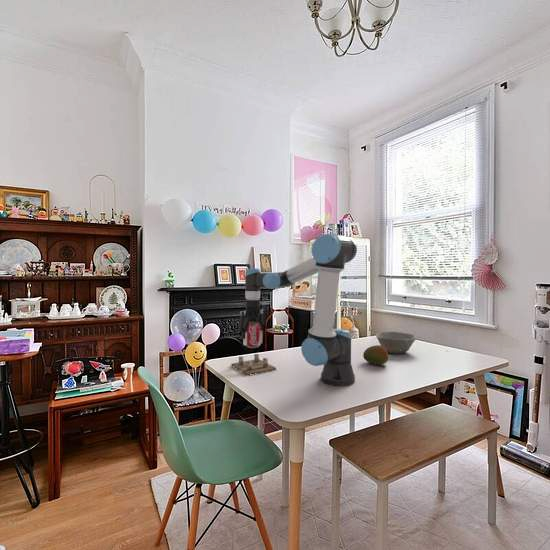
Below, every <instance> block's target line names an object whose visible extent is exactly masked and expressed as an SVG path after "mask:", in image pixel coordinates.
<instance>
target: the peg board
mask: <svg viewBox="0 0 550 550" xmlns="http://www.w3.org/2000/svg"><path fill="white" fill-rule="evenodd" d="M253 358H254V359H251V360H250V359H249V360H244V356H238V362H234V363H231V364H230V365H232V366H234V367H235V368H237V369H238V370H240V371H242V372H243V373H245V374H246V375H245V374H244V375H245V376H247V375H249V376H251V375H250V374H254V375H256V374H255V373H259V374H262V373H261V372H264V373H267V372H266V371H269V372H273V371H272V370H274V371H277V367H275V366H274V365H271V364H269V359H268V358H267V357H263V358H262V360H261V359H260V354H259V353H254V357H253ZM232 366H231V367H232ZM234 367H233V368H234ZM235 368H234V369H235ZM237 369H236V370H237ZM238 370H237V371H238ZM240 371H239V372H240ZM242 372H241V373H242ZM243 373H242V374H243Z"/></svg>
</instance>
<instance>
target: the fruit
mask: <svg viewBox="0 0 550 550" xmlns="http://www.w3.org/2000/svg"><path fill="white" fill-rule="evenodd" d="M362 357H363V359H364V361H366V362H367V363H370V364H372V365H377V366H378V365H379V366H381V365H384V364H386V363H387V362H388V359H389V352H387V350H386V348H385V347H383V346H381V345H380V344H378V345H371V346H370V347H369V346H368V347H367V348H366V349H365V350H364V352H363V355H362Z"/></svg>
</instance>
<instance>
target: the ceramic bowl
mask: <svg viewBox="0 0 550 550" xmlns="http://www.w3.org/2000/svg"><path fill="white" fill-rule="evenodd" d="M375 337H376V339H377V341H378V343H379V345H380V346H383V347H385V348H386V350H387V353H388V354H395V355H396V354H405V353H407V352H408V351H409V350H410V349H411V347H412V345H413V344H414V342H415V341H416V340H417V336H416V335H414V334H411V333H406V332H399V331H382V332H381V331H380V332H378V333H375Z"/></svg>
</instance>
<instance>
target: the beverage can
mask: <svg viewBox="0 0 550 550" xmlns="http://www.w3.org/2000/svg"><path fill="white" fill-rule="evenodd" d="M246 332H247V346H246V348H249V349H256V348H260V346H261V344H262V343H261V326H260V324H259V322H257V321H249V324H248V327H247V329H246Z"/></svg>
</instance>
